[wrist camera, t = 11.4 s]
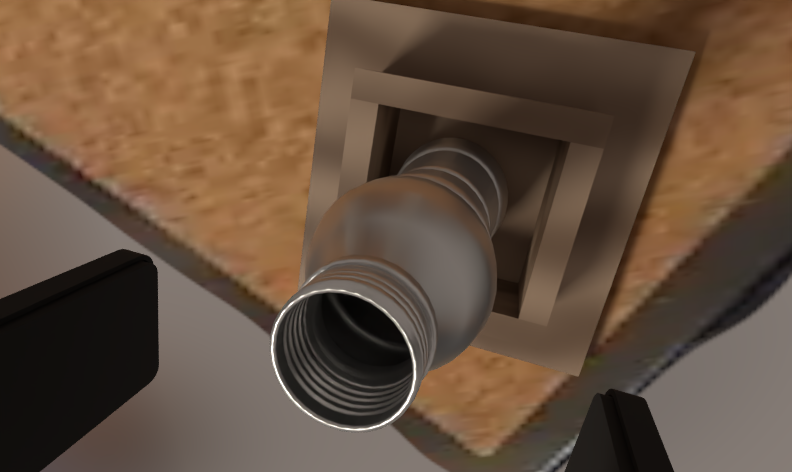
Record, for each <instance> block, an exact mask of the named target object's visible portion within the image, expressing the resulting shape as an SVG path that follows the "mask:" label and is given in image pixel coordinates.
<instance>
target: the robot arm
mask: <svg viewBox="0 0 792 472" xmlns="http://www.w3.org/2000/svg"><path fill="white" fill-rule="evenodd" d="M158 349H159V345H158V272H157V268H156V266H155V265H154V264H153V261H152V259H151V258H150V257H149V256H147V255H144V254H140V253H136V252H133V251H130V250H126V249H121V250H117V251H115V252H113V253H110V254H108V255H105V256H103V257H101V258H98V259H96V260H93V261H91V262H88V263H86V264H84V265H81V266H79V267H76V268H74V269H71V270H69V271H67V272H64V273H62V274H59V275H57V276H55V277H52V278H50V279H48V280H45V281H42V282H40V283H38V284H35V285H33V286H31V287H28V288H26V289H23V290H21V291H18V292H16V293H14V294H11V295H9V296H6V297H4V298H1V299H0V472H40V471H41V470H42V469H44V468H45V467H46V466H47V465H49V464H50V463H51V462H52V461H54V460H55V459H56V458H57V457H59V456H60V455H61V454H62V453H63V452H65V451H66V450H67V449H68V448H70V447H71V446H72V445H73V444H75V443H76V442H77V441H78V440H80V439H81V438H82V437H83V436H85V435H86V434H87V433H88V432H89V431H91V430H92V429H93V428H95V427H96V426H97V425H98V424H99V423H101V422H102V421H103V420H104V419H106V418H107V417H108V416H109V415H111V414H112V413H113V412H114V411H116V410H117V409H118V408H119V407H120V406H122V405H123V404H124V403H125V402H127V401H128V400H129V399H130V398H132V397H133V396H134V395H135V394H137V393H138V392H139V391H140V390H141V389H143V388H144V387H145V386H147V385H148V384H149V383H150V382H151V381H152V380H153V379H154V377H155V376H156V373H157V371H158V367H159V351H158ZM565 472H674V470H673V468H672V465H671V463H670V460H669V458H668V455H667V453H666V450H665V448H664V445H663V442H662V440H661V438H660V435H659V432H658V430H657V427H656V425H655V422H654V420H653V417H652V415H651V412H650V410H649V407H648V404H647V402H646V400H645V399H644V398H642V397H639V396H636V395H632V394H629V393H625V392H622V391H618V390H615V389H609V390H608V391H607V392H606V394H605V395H603V394H600V393H597V394H596V395H595V396H594V398H593V400H592V403H591V405H590V408H589V410H588V413H587V416H586V418H585V421H584V423H583V426H582V428H581V431H580V433H579V436H578V439H577V441H576V444H575V446H574V449H573V451H572V454H571V457H570V459H569V462H568V464H567V467H566V469H565Z"/></svg>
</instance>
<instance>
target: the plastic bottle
mask: <svg viewBox="0 0 792 472" xmlns="http://www.w3.org/2000/svg"><path fill="white" fill-rule="evenodd" d="M507 204H508V189H507V183H506V179H505V176H504V174H503V171H502V169H501V167H500V166H499V164H498V163H497V161H496V160H495V158H494V157H493V156H492V155H491V154H490V153H489V152H488V151H487V150H485V149H484V148H482V147H481V146H479V145H478V144H476V143H473V142H471V141H468V140H466V139H460V138H441V139H437V140H433V141H430V142H428V143H426V144H424V145H422V146H421V147H419V148H418V149H417V150H415V151H414V152H413V153H412V154H411V155H410V156H409V157H408V158H407V160H406V161H405V162H404V164H403V166H402V168H401V169H400V171H399V173H398V174H397V175H395V176H388V177H384V178H379V179H375V180H372V181H370V182H367V183H365V184H362V185H360V186H358V187H356V188H354V189H352V190H350V191H348V192H347V193H346V194H344V195H343V196H342V197H340V198H339V199H338V200H336V201H335V202H334V203H333V205H332V206H331V207H330V208H329V209H328V211H327V212H326V213H325V214H324V215H323V217H322V219H321V221H320V223H319V225H318V227H317V229H316V230H315V233H314V235H313V238H312V240H311V243H310V247H309V250H308V253H307V257H306V264H305V282H304V283H303V284H302V286H301V288H300V290H299V291H298V292H297V293H296V294H294V295H293V296H292V297H291V298H290V299H289V300H288V302H287V303H286V304H285V305H284V306H283V308H282V310H281V311H280V312H279V314H278V316H277V318H276V320H275V322H274V324H273V328H272V332H271V335H270V356H271V363H272V366H273V369H274V372H275V376H276V378H277V380H278V381H279V384H280V385H281V387H282V389H283V390H284V391H285V393H286V395H287V396H288V397H289V399H290V400H291V401H292V402H293V403H294V404H295V405H296V406H297V407H298V408H299V409H300V410H301V411H302V412H303V413H305V414H306V415H308V416H309V417H310V418H312V419H313V420H315V421H317V422H319V423H321V424H323V425H325V426H327V427H330V428H333V429H337V430H340V431H346V432H370V431H373V430H377V429H381V428H383V427H385V426H387V425H389V424H391V423H393V422H394V421H396V420H397V419H398V418H399V417H400V416H402V415H403V414H404V412H405V411H406V410H407V408H408V407H409V406H410V404H411V403H412V402H413V400H414V399H415V396H416V394H417V392H418V390H419V387H420V384H421V381H422V380H423V378H424V377H425V376H426V375H427V373H428V371H431V370H434V369H437V368H439V367H441V366H443V365H445V364H447V363H449V362H451V361H452V360H453V359H455V358H456V357H457V356H458V355H459V354H461V353H462V352H463V351H464V350H465V349H466V348H467V347H468V346H469V345H470V344H471V343H472V342H473V341H474V340H475V338H476V337H477V336H478V334H479V333H480V332H481V331H482V329H483V328H484V326H485V324H486V322H487V320H488V318H489V316H490V314H491V312H492V309H493V305H494V300H495V296H496V290H497V269H496V259H495V253H494V248H493V244H492V241H491V238H492V237H493V235H494V234H495V233H496V231H497V230H498V228H499V227H500V225H501V223H502V221H503V219H504V216H505V213H506V209H507Z"/></svg>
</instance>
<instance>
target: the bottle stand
mask: <svg viewBox="0 0 792 472" xmlns="http://www.w3.org/2000/svg"><path fill="white" fill-rule="evenodd" d="M694 55H695V51H689V50H683V49H676V48H670V47H663V46H657V45H651V44H644V43H638V42H632V41H625V40H619V39H613V38H606V37H600V36H594V35H587V34H581V33H575V32H568V31H562V30H556V29H549V28H543V27H537V26H530V25H524V24H518V23H511V22H505V21H499V20H492V19H486V18H480V17H473V16H467V15H461V14H454V13H448V12H442V11H435V10H429V9H423V8H416V7H410V6H404V5H397V4H391V3H385V2H378V1H372V0H331V6H330V15H329V24H328V33H327V41H326V50H325V59H324V67H323V76H322V85H321V93H320V102H319V111H318V119H317V128H316V137H315V145H314V154H313V163H312V171H311V180H310V189H309V197H308V206H307V215H306V223H305V232H304V241H303V249H302V258H301V267H300V275H299V284H298V291H299V290H300V288H301V286H302V284H303V283H304V282H305V264H306V257H307V253H308V250H309V247H310V243H311V240H312V238H313V235H314V233H315V230H316V229H317V227H318V225H319V223H320V221H321V219H322V217H323V215H324V214H325V213H326V212H327V211H328V209H329V208H330V207H331V206H332V205H333V203H334V202H335V201H336V200H338V199H339V198H340V197H342V196H343V195H344V194H346V193H347V192H348V191H350V190H352V189H354V188H356V187H358V186H360V185H362V184H365V183H367V182H370V181H372V180H375V179H379V178H384V177H388V176H395V175H397V174H398V173H399V171H400V169H401V168H402V166H403V164H404V162H405V161H406V160H407V158H408V157H409V156H410V155H411V154H412V153H413V152H414V151H415V150H417V149H418V148H419V147H421V146H422V145H424V144H426V143H428V142H430V141H433V140H437V139H441V138H460V139H466V140H468V141H471V142H473V143H476V144H478V145H479V146H481V147H482V148H484V149H485V150H487V151H488V152H489V153H490V154H491V155H492V156H493V157H494V158H495V160H496V161H497V163H498V164H499V166H500V167H501V169H502V171H503V174H504V176H505V179H506V183H507V189H508V204H507V209H506V213H505V216H504V219H503V221H502V223H501V225H500V227H499V228H498V230H497V231H496V233H495V234H494V235H493V237H492V238H491V241H492V244H493V248H494V253H495V259H496V269H497V290H496V296H495V300H494V305H493V309H492V312H491V314H490V316H489V318H488V320H487V322H486V324H485V326H484V328H483V329H482V331H481V332H480V333H479V334H478V336H477V337H476V338H475V340H474V341H473V342H472V343H471V344H470V346H473V347H477V348H480V349H484V350H487V351H491V352H494V353H498V354H501V355H505V356H508V357H512V358H515V359H519V360H522V361H526V362H529V363H533V364H536V365H540V366H543V367H547V368H550V369H554V370H557V371H561V372H564V373H568V374H571V375H575V376H579V374H580V371H581V368H582V365H583V362H584V360H585V357H586V354H587V351H588V349H589V346H590V343H591V340H592V338H593V335H594V332H595V329H596V326H597V324H598V321H599V318H600V315H601V313H602V310H603V307H604V304H605V302H606V299H607V296H608V293H609V290H610V288H611V285H612V282H613V279H614V277H615V274H616V271H617V268H618V266H619V263H620V260H621V257H622V254H623V252H624V249H625V246H626V243H627V241H628V238H629V235H630V232H631V230H632V227H633V224H634V221H635V219H636V216H637V213H638V210H639V207H640V205H641V202H642V199H643V196H644V194H645V191H646V188H647V185H648V183H649V180H650V177H651V174H652V171H653V169H654V166H655V163H656V160H657V158H658V155H659V152H660V149H661V147H662V144H663V141H664V138H665V135H666V133H667V130H668V127H669V124H670V122H671V119H672V116H673V113H674V111H675V108H676V105H677V102H678V99H679V97H680V94H681V91H682V88H683V86H684V83H685V80H686V77H687V75H688V72H689V69H690V66H691V64H692V61H693V58H694Z"/></svg>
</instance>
